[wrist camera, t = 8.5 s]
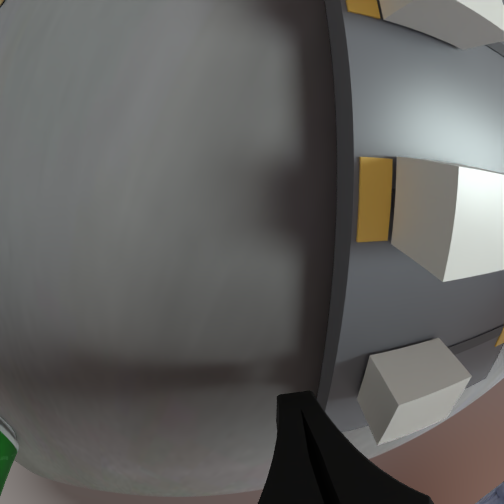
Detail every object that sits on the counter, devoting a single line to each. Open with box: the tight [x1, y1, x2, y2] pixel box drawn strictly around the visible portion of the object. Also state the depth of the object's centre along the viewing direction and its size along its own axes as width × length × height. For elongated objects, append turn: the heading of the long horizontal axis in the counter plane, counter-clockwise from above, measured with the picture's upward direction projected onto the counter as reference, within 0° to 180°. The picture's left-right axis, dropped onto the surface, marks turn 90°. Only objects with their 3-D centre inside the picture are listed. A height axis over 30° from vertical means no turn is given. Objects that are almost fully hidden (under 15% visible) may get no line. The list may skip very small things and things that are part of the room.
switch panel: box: [317, 0, 504, 432], centre depth 10 cm, size 14×26×2 cm, turn 3°
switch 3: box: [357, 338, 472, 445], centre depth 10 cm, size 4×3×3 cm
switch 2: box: [391, 156, 504, 282], centre depth 7 cm, size 4×3×3 cm
